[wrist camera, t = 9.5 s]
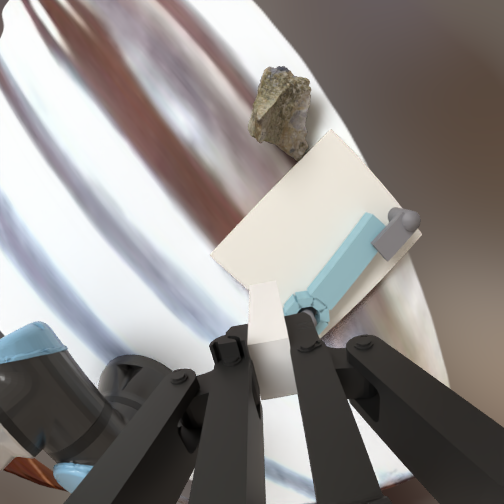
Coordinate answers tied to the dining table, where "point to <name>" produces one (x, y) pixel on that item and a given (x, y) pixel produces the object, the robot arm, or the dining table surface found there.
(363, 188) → the board
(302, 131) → the rock
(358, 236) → the link
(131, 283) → the dining table surface
